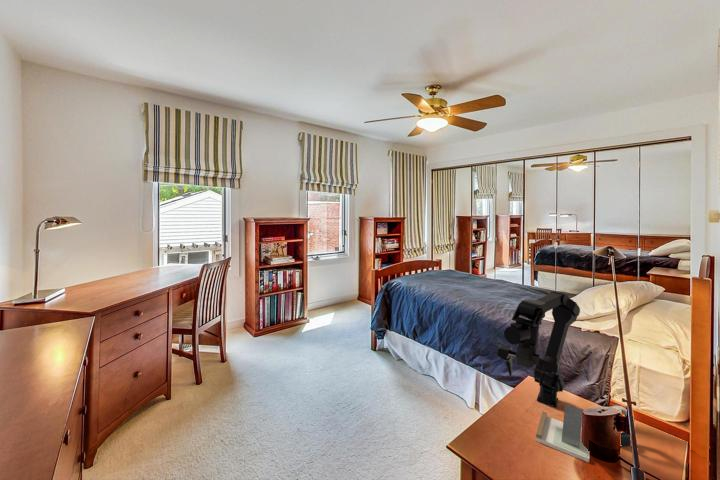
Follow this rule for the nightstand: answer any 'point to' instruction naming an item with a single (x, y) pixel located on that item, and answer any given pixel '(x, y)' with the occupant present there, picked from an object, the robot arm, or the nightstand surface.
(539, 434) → the door panel
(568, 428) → the block
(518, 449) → the nightstand surface
